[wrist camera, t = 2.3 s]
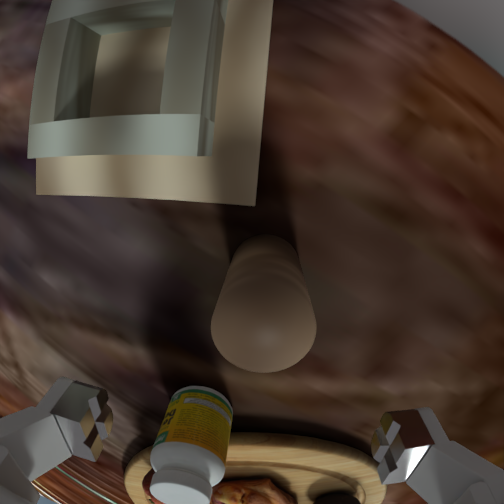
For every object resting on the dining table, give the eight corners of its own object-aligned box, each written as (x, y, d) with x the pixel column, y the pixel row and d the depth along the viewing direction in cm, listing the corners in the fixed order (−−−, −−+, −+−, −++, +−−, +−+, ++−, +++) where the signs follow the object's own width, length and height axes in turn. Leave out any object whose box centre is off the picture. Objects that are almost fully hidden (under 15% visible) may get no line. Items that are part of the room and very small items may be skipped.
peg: (303, 237, 20) (324, 287, 12) (294, 301, 21) (306, 375, 14) (233, 230, 20) (212, 277, 12) (229, 295, 21) (209, 367, 14)
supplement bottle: (225, 432, 25) (211, 520, 16) (168, 416, 25) (138, 500, 16) (240, 392, 24) (228, 491, 15) (175, 375, 24) (139, 467, 15)
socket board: (275, -24, 15) (276, -64, 10) (255, 204, 20) (251, 219, 15) (67, -1, 15) (33, -22, 11) (42, 193, 20) (0, 204, 15)
